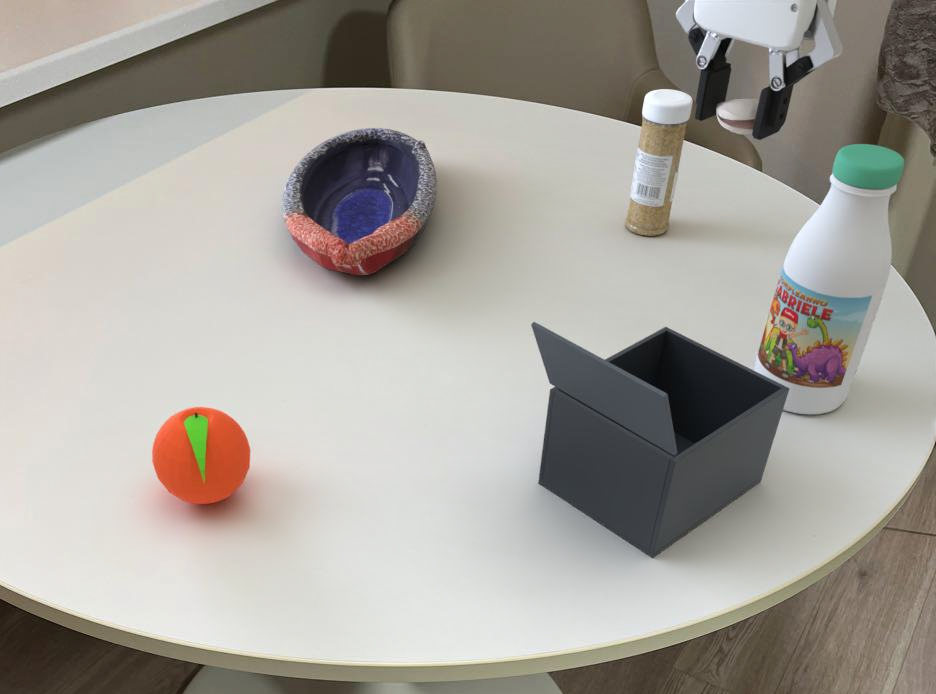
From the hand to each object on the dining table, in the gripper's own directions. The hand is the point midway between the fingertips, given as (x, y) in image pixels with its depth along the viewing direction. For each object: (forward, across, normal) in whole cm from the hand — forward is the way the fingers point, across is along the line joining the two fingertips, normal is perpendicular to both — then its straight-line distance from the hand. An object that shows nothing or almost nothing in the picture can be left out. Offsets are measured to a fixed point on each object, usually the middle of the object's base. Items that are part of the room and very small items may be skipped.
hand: (737, 123), depth 88 cm
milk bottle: (+17, -14, +6) cm, 23 cm away
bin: (+17, -14, +25) cm, 33 cm away
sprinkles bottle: (+16, +13, -8) cm, 22 cm away
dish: (+16, +33, +14) cm, 39 cm away
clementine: (+16, +6, +51) cm, 54 cm away
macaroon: (+1, 0, 0) cm, 1 cm away
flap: (+4, -14, +33) cm, 36 cm away
